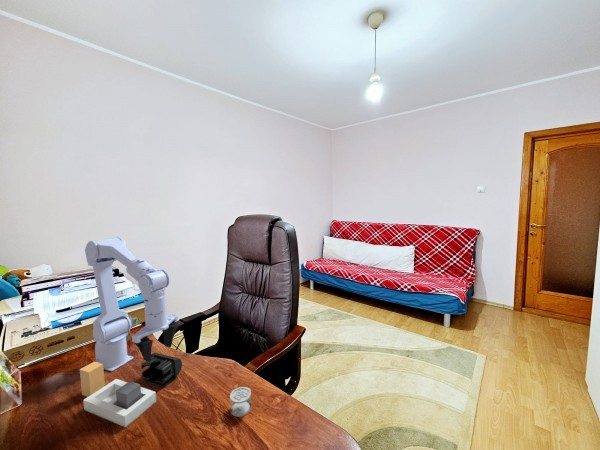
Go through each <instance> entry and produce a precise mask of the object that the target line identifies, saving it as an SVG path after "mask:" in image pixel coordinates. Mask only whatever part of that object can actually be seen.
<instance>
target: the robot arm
mask: <svg viewBox="0 0 600 450" xmlns="http://www.w3.org/2000/svg"><path fill="white" fill-rule="evenodd" d="M84 252H85V258H86V262H87V266H90V267H92V269H93V274H94V280H95V286H96V290H97V295H98V301H99V308H100V314H99V315H98V316H97V317H96V318H95V320H94V321H93V322H92V325H93V326H92V327H93V329H92V337H93V339H94V341H95V342H96V343H95V346H94V353H95V354H94V356H95V362H98V363H101V364H103V367H104V370H105V371H109V372H113V371H115V370H117V369H118V368H120V367H122V366H123V365H125V364H126V363H128V362H131V361H132V360H134V358H135V357H134V356H131V355H128V347H127V346H128V345H127V341H126V336H127V335H128V332H129V331H130V332H131V330H132V328H131V321H130V319H129V317H128V315H129V314H128V311H125V310H124V309H120V306H119V302H118V296H117V289H116V286H115V285H116V284H115V278H114V274H113V269H112V265H113V264H114V262H116V261H118V262H119V263H121V264H122V265H124V266H125V267H126V268H125V270H126V271H125V272H126V273H127V274H128V275H129V276H130V277H132V278H133V279H134V280H135V281H136V282H137V284H138V285H137V286H138V288H139V290H140V292H141V293H140V294H141V297H142V299H143V302H144V304H143V305H144V318H145V319H144V322H145V326H144V327H142V328H141V329H139V330H138V331H137V332H136V333H134V334H132V336H131V338H132V340H131V341H132V343H133V344H134V345H135V346H136V347H137V348H138V350H139V351H140V354H141V356H142V359H143V361H144V362H145V361H150V360H151V354H152V348H153V347H152V346H153V343H154V340H153V339H150V338H149V336H151V335H153V334H154V333H157V332H159V331H162V336H163V343H164V347H166V348H171V347H172V345H173V341H174V337H175V334H176V332H177V329H178V328H179V323H177V322H178V321H179V319H178V317H179V316H178V314H171V315H167V299H166V298H167V296H166V294H167V293H166V288H168V287H169V284H170V277H169V274H168V273H167V271H166V270H165V269H158V268H157V269H156V268H154V266H152V265H151V264H150V263H149V262H147V261H146V260H145V259H144V258H141V257H140V258H136V257H135V256H134V254H133V253H132V252H131V251H130V250H129V249H128V248H127V241H125V240H124V239H123V238H122V237H115V238H105V239H100V240H99V239H98V240H89V241H88V242H87V243H86V246H85V247H84Z"/></svg>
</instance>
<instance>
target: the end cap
mask: <svg viewBox="0 0 600 450" xmlns="http://www.w3.org/2000/svg"><path fill="white" fill-rule="evenodd" d="M182 361H183V360H182V359H181V358H179V357H175V356H171V355H166V354H163V353H159V352H153V353H152V352H151V360H150V361H145V360H144V362H142V363H141V365H140V366H141V370H143V369H144V368H146V367H147V368H146V369H145V370H143V371H142V372H141V377H142V378H143V379H142V381H143V382H144V383H147V384H150V385H153V386H157V387H160V388H167V387H168V385H170V384H171V383H172V382H173V381H174V380H176V378H178V376H179V374H180V372H181V371H182V367H183V362H182Z"/></svg>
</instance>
